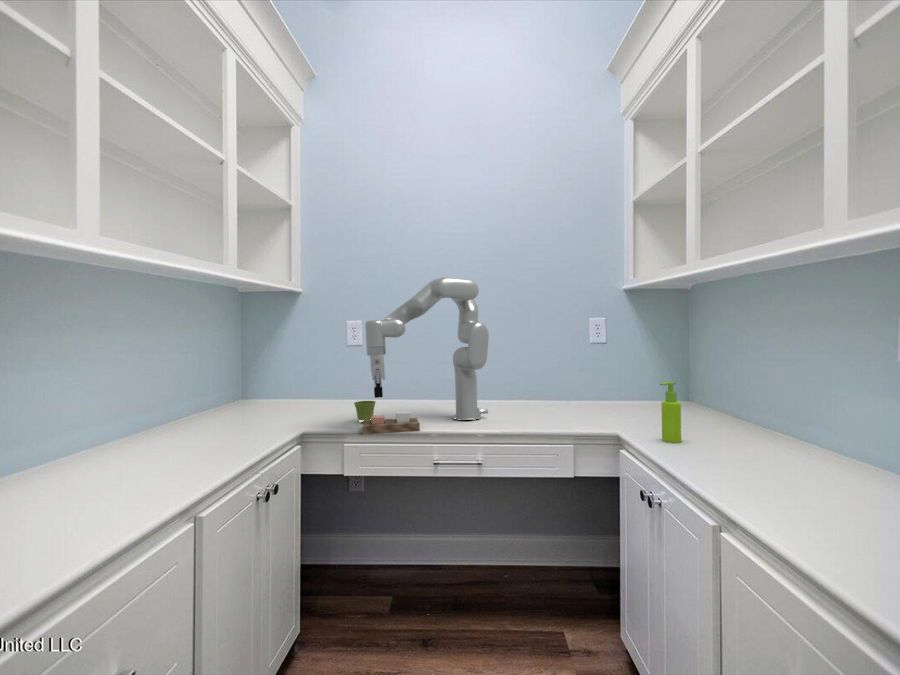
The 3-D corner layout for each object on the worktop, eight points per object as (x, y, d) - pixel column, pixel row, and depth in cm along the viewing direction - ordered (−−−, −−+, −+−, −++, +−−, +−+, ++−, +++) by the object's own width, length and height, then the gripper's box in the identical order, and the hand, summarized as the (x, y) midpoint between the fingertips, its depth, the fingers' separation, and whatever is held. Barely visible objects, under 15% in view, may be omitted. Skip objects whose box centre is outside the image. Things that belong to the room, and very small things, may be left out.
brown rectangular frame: (416, 424, 191) (416, 417, 191) (419, 430, 179) (419, 423, 179) (362, 427, 187) (362, 420, 187) (362, 434, 175) (362, 426, 175)
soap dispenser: (655, 440, 157) (654, 381, 156) (671, 438, 159) (670, 380, 159) (669, 444, 151) (668, 383, 151) (685, 441, 154) (684, 382, 153)
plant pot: (369, 424, 193) (369, 404, 193) (350, 423, 196) (349, 403, 196) (380, 420, 202) (379, 400, 202) (361, 419, 205) (360, 400, 205)
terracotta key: (384, 424, 185) (383, 415, 185) (384, 427, 180) (384, 417, 180) (371, 425, 184) (371, 415, 184) (371, 428, 179) (371, 418, 179)
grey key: (408, 420, 187) (408, 411, 187) (409, 423, 182) (409, 413, 182) (396, 421, 186) (396, 411, 186) (397, 424, 181) (396, 413, 181)
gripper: (386, 351, 175) (389, 399, 176) (385, 349, 190) (387, 393, 190) (366, 352, 174) (369, 400, 174) (366, 350, 188) (369, 395, 189)
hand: (378, 397), depth 182 cm, fingers closed
